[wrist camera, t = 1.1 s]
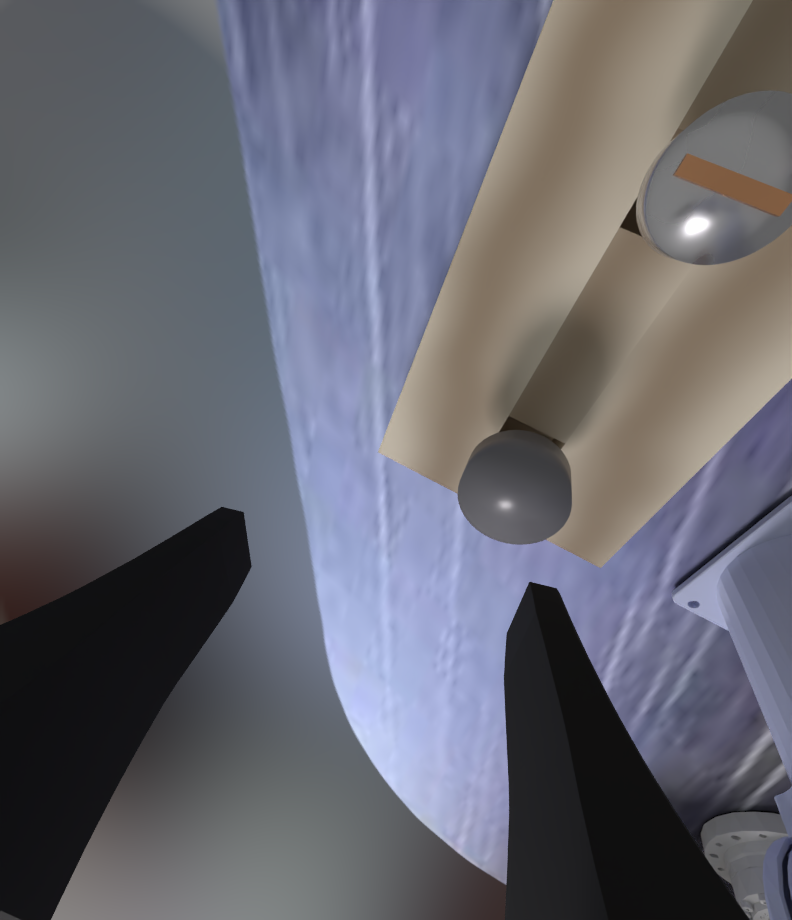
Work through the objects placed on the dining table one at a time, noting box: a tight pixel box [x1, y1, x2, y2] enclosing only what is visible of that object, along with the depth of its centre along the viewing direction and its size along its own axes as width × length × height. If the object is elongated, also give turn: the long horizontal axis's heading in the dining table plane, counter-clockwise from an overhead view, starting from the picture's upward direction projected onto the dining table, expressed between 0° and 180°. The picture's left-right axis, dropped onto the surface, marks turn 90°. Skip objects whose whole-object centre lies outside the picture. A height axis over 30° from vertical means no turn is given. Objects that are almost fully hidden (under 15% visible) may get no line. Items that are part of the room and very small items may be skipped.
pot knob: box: [636, 90, 792, 265], centre depth 11 cm, size 3×3×4 cm
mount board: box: [378, 0, 792, 568], centre depth 13 cm, size 12×27×3 cm, turn 160°
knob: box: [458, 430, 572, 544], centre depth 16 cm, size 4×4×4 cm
